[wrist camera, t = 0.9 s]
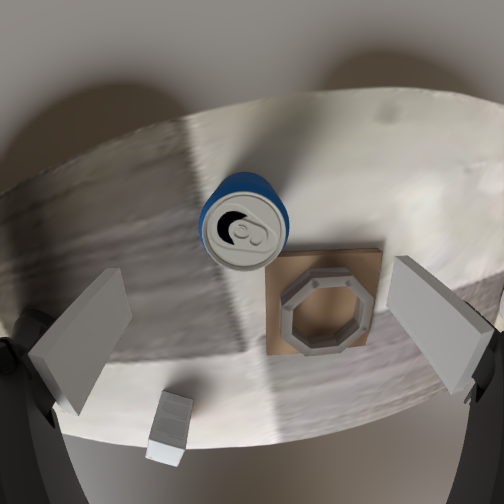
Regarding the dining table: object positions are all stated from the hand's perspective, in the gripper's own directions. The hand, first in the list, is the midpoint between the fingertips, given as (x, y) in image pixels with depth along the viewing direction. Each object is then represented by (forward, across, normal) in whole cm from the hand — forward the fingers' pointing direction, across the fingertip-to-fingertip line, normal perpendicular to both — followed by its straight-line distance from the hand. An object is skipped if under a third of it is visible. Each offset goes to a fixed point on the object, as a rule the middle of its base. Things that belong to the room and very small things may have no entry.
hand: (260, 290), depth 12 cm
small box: (+19, -15, -33) cm, 41 cm away
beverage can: (+19, -1, +1) cm, 19 cm away
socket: (+19, +8, -12) cm, 24 cm away
